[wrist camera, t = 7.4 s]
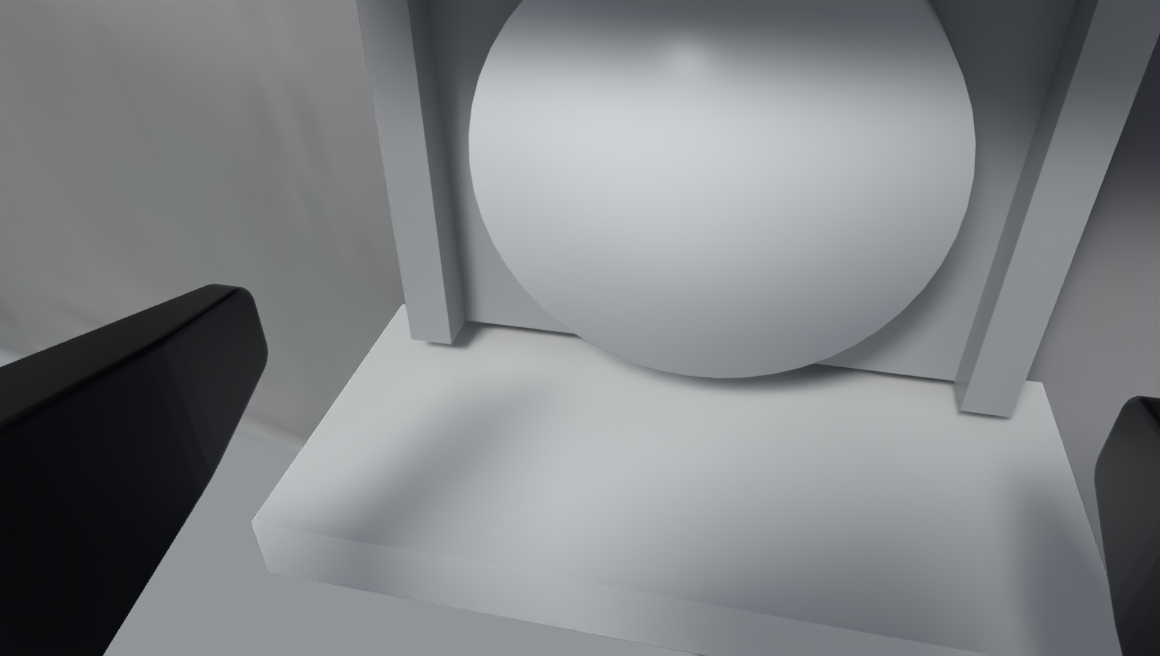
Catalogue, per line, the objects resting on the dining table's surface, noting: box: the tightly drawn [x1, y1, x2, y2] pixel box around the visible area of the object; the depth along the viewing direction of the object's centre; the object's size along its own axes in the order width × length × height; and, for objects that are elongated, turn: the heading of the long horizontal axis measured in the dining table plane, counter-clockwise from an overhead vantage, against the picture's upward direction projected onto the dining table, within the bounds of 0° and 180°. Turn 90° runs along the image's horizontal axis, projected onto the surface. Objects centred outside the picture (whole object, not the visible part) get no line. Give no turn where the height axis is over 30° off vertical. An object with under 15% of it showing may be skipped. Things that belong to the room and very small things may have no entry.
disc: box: [469, 0, 976, 378], centre depth 13 cm, size 7×7×2 cm
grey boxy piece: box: [251, 0, 1160, 656], centre depth 12 cm, size 12×11×6 cm
